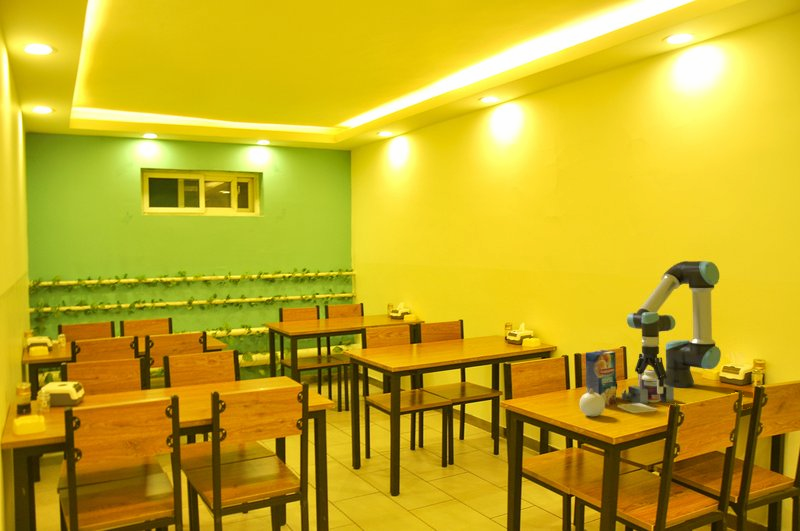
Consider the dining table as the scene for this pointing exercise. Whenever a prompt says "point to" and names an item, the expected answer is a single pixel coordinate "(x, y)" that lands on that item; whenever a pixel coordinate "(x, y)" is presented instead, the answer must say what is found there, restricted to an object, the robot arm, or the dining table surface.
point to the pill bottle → (651, 385)
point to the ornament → (592, 404)
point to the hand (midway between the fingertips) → (650, 390)
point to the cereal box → (601, 375)
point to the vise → (641, 394)
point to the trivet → (636, 408)
